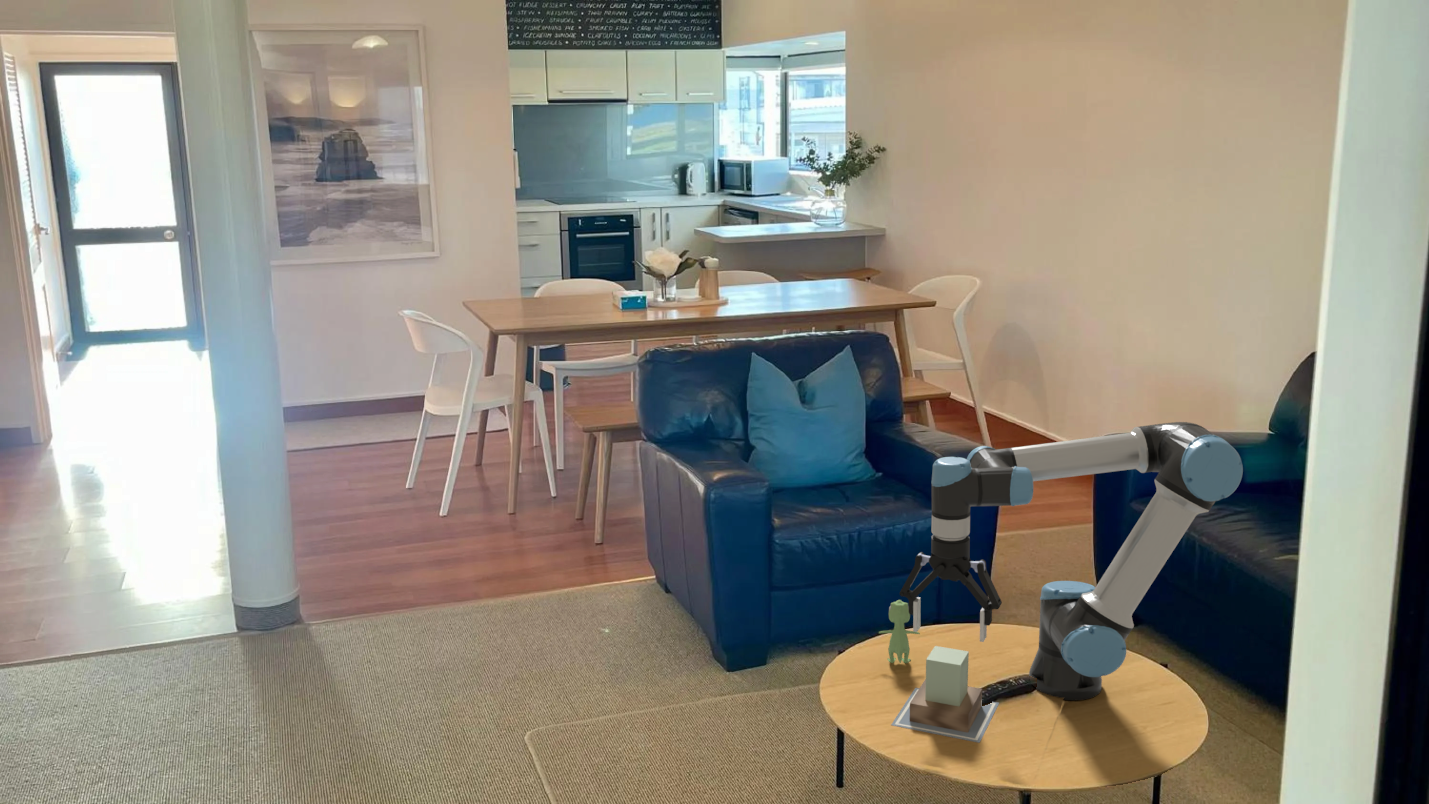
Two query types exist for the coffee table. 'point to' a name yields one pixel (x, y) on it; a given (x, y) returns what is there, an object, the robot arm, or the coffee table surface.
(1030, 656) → the coffee table surface
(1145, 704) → the coffee table surface
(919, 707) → the foundation block
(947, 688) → the sage block
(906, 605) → the toy
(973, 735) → the grey square plate
